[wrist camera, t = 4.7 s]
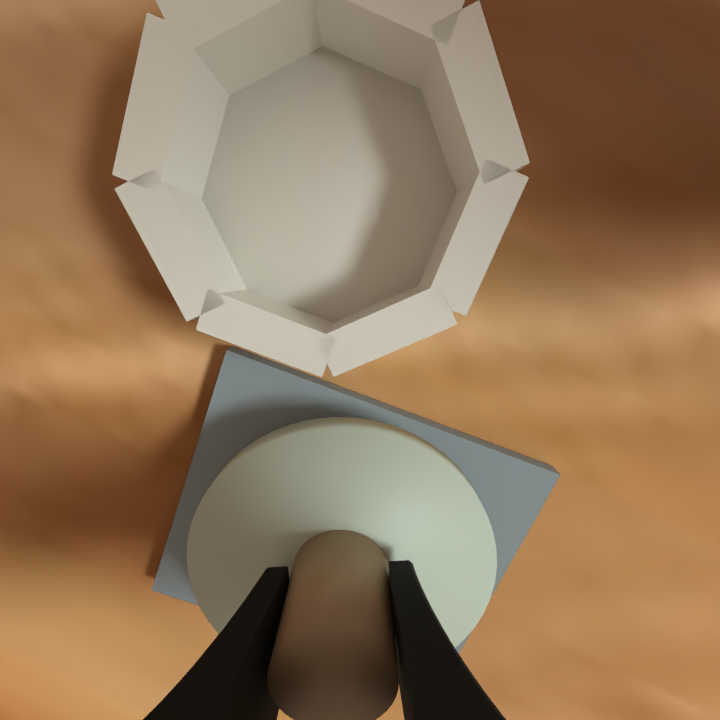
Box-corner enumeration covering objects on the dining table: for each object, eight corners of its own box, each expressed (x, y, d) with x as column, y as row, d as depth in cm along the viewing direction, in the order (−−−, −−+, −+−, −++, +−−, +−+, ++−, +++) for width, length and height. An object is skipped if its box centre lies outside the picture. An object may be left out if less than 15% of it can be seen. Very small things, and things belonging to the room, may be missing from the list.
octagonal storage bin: (529, 105, 11) (589, 43, 8) (408, 382, 13) (421, 414, 10) (233, -27, 10) (181, -146, 7) (153, 285, 12) (87, 289, 9)
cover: (494, 410, 11) (564, 489, 7) (483, 659, 13) (531, 819, 10) (174, 423, 11) (75, 507, 7) (219, 665, 14) (163, 824, 10)
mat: (552, 465, 13) (560, 474, 13) (438, 668, 16) (441, 683, 15) (232, 346, 13) (226, 349, 12) (159, 577, 15) (151, 590, 14)
